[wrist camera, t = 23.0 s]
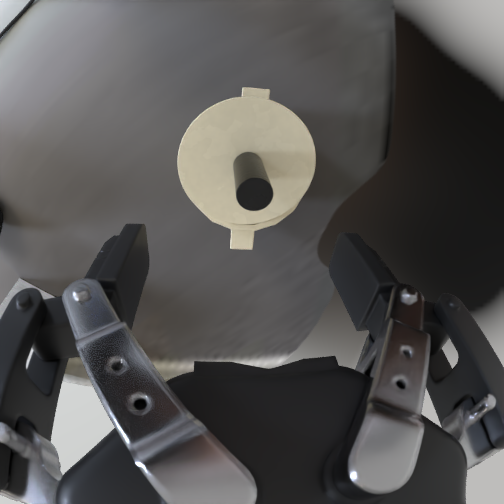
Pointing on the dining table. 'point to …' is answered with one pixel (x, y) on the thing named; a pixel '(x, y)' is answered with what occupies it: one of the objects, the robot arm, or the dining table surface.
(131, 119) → the dining table surface
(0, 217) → the portable speaker
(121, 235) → the robot arm
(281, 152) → the lid
